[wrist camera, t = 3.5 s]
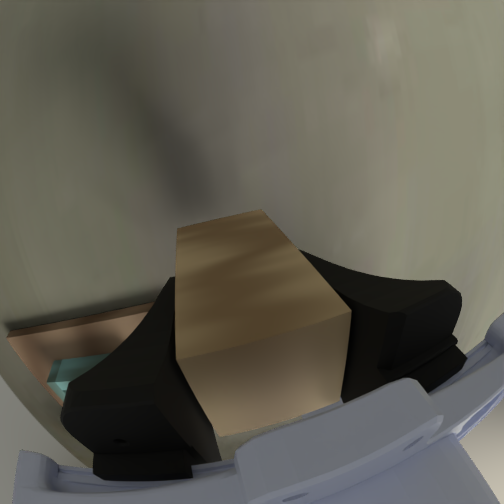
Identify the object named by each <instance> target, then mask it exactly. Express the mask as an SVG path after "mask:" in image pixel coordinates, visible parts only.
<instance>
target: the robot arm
mask: <svg viewBox="0 0 504 504" xmlns="http://www.w3.org/2000/svg"><path fill="white" fill-rule="evenodd" d="M298 250H299V249H298ZM299 251H300V252H301V253H302V254H303V255H304V257H305V258H306V259H307V260H308V261H309V262H310V263H311V264H312V266H313V267H314V268H315V269H316V270H317V271H318V272H319V274H320V275H321V276H322V277H323V278H324V279H325V280H326V282H327V283H328V284H329V285H330V286H331V287H332V288H333V290H334V291H335V292H336V293H337V294H338V295H339V297H340V298H341V299H342V300H343V301H344V302H345V304H346V305H347V306H348V307H349V308H350V309H351V311H352V312H351V323H350V332H349V341H348V349H347V357H346V364H345V371H344V377H343V383H342V389H341V395H340V401H338V402H336V403H333V404H331V405H328V406H326V407H323V408H320V409H318V410H315V411H312V412H309V413H306V414H304V415H301V416H302V418H303V419H302V420H299V421H296V422H293V423H289V424H286V425H283V426H280V427H277V428H274V429H272V430H269V431H267V432H264V433H262V434H259V435H256V436H254V437H252V438H251V439H250V440H248V441H247V442H245V443H244V444H243V445H241V446H240V447H239V448H238V449H237V450H236V451H235V456H234V459H229V460H224V461H222V459H221V456H220V453H219V449H218V446H217V442H216V438H215V434H214V430H213V427H212V424H211V422H210V420H209V419H208V417H207V415H206V414H205V412H204V410H203V409H202V407H201V405H200V403H199V402H198V400H197V398H196V396H195V395H194V393H193V391H192V389H191V387H190V385H189V384H188V382H187V380H186V378H185V376H184V374H183V372H182V370H181V368H180V366H179V364H178V362H177V360H176V340H175V277H170V278H169V280H168V281H167V283H166V284H165V286H164V288H163V289H162V291H161V293H160V294H159V296H158V298H157V299H156V301H155V303H154V304H153V306H152V307H151V309H150V310H149V311H148V313H147V314H146V316H145V317H144V318H143V320H142V321H141V322H140V324H139V325H138V326H137V327H136V328H135V330H134V331H133V332H132V333H131V334H130V335H129V336H128V337H127V338H126V339H125V340H124V341H123V342H122V343H121V344H120V345H119V346H118V347H117V348H116V349H115V350H114V351H113V352H112V353H111V354H109V355H108V356H107V357H106V358H105V359H103V360H102V361H101V362H99V363H98V364H97V365H95V366H94V367H93V368H91V369H90V370H88V371H87V372H85V373H84V374H82V375H80V376H79V377H77V378H76V379H74V380H72V381H71V382H69V383H68V387H67V390H66V394H65V398H64V402H63V407H62V411H61V422H62V424H63V426H64V427H65V429H66V430H67V431H68V432H69V433H70V434H71V435H72V436H73V437H74V438H75V439H77V440H78V441H79V442H80V443H82V444H83V445H84V446H85V447H87V448H88V449H89V450H90V451H92V452H93V453H94V457H93V468H82V467H72V466H64V465H58V464H57V463H56V462H55V461H53V460H52V459H51V458H49V457H47V456H45V455H43V454H40V453H36V452H31V451H25V450H20V451H19V457H18V462H17V468H16V475H15V482H14V491H13V502H12V503H13V504H500V503H499V501H498V499H497V498H496V496H495V495H494V493H493V491H492V490H491V488H490V487H489V485H488V484H487V482H486V480H485V479H484V478H483V476H482V474H481V473H480V471H479V470H478V468H477V467H476V465H475V464H474V462H473V461H472V460H471V458H470V457H469V455H468V454H467V452H466V451H465V450H464V448H463V447H462V445H461V444H460V443H459V441H460V440H461V439H462V438H463V437H464V436H465V435H467V434H468V433H469V432H470V431H471V430H472V429H473V428H474V427H475V426H477V425H478V424H479V423H480V422H481V421H482V420H483V419H484V418H485V417H486V416H487V415H488V414H489V413H490V412H491V411H492V410H493V408H495V406H496V405H497V404H498V403H499V402H500V401H501V400H502V399H503V398H504V313H503V314H501V315H500V316H499V317H498V318H497V319H496V320H495V321H494V322H493V323H492V324H491V326H490V327H489V329H488V331H487V333H486V335H485V339H484V340H483V341H481V342H480V343H479V344H478V345H477V346H475V347H474V348H473V349H472V350H470V351H469V352H468V353H466V354H465V355H464V354H463V353H462V352H461V350H460V349H459V348H458V347H457V346H456V344H457V342H458V340H457V338H456V337H455V336H454V335H453V334H452V333H453V330H454V328H455V325H456V323H457V320H458V317H459V315H460V311H461V307H462V297H461V293H460V292H459V291H457V290H456V289H455V288H454V287H453V286H451V285H450V284H449V283H448V282H446V281H445V280H426V281H417V280H401V279H392V278H386V277H379V276H374V275H369V274H365V273H361V272H357V271H354V270H351V269H347V268H345V267H342V266H339V265H336V264H333V263H331V262H328V261H326V260H323V259H321V258H318V257H316V256H314V255H311V254H309V253H307V252H304V251H302V250H299Z"/></svg>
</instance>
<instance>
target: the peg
mask: <svg viewBox="0 0 504 504" xmlns="http://www.w3.org/2000/svg"><path fill="white" fill-rule="evenodd" d="M351 312H352V311H351V309H350V308H349V307H348V306H347V305H346V304H345V302H344V301H343V300H342V299H341V298H340V297H339V295H338V294H337V293H336V292H335V291H334V290H333V288H332V287H331V286H330V285H329V284H328V283H327V282H326V280H325V279H324V278H323V277H322V276H321V275H320V274H319V272H318V271H317V270H316V269H315V268H314V267H313V266H312V264H311V263H310V262H309V261H308V260H307V259H306V258H305V257H304V255H303V254H302V253H301V252H300V251H299V250H298V249H297V248H296V247H295V245H294V244H293V243H292V242H291V241H290V240H289V239H288V238H287V237H286V236H285V234H284V233H283V232H282V231H281V230H280V229H279V228H278V227H277V226H276V225H275V224H274V222H273V221H272V220H271V219H270V218H269V217H268V216H267V215H266V214H265V213H264V212H263V211H262V210H261V209H260V210H255V211H251V212H246V213H242V214H237V215H233V216H228V217H224V218H219V219H215V220H211V221H207V222H202V223H198V224H194V225H190V226H186V227H182V228H177V243H176V271H175V340H176V360H177V362H178V364H179V366H180V368H181V370H182V372H183V374H184V376H185V378H186V380H187V382H188V384H189V385H190V387H191V389H192V391H193V393H194V395H195V396H196V398H197V400H198V402H199V403H200V405H201V407H202V409H203V410H204V412H205V414H206V415H207V417H208V419H209V420H210V422H211V424H212V425H213V427H214V429H215V430H216V432H217V433H218V435H219V437H222V436H227V435H232V434H236V433H241V432H245V431H249V430H253V429H257V428H261V427H264V426H268V425H272V424H275V423H279V422H282V421H285V420H288V419H291V418H295V417H298V416H301V415H304V414H306V413H309V412H312V411H315V410H318V409H320V408H323V407H326V406H328V405H331V404H333V403H336V402H338V401H340V395H341V389H342V383H343V377H344V371H345V364H346V357H347V349H348V341H349V332H350V323H351Z"/></svg>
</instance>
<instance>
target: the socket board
mask: <svg viewBox="0 0 504 504" xmlns="http://www.w3.org/2000/svg"><path fill="white" fill-rule="evenodd" d="M154 303H155V302H151V303H147V304H142V305H138V306H133V307H128V308H124V309H119V310H114V311H110V312H105V313H100V314H95V315H91V316H86V317H81V318H76V319H71V320H66V321H61V322H56V323H50V324H45V325H40V326H34V327H29V328H23V329H18V330H12V331H10V332H9V334H8V336H7V338H6V339H7V340H8V341H9V343H10V344H11V346H12V347H13V349H14V350H15V351H16V353H17V354H18V356H19V357H20V358H21V360H22V361H23V362H24V364H25V365H26V366H27V367H28V369H29V370H30V371H31V372H32V374H33V375H34V376H35V377H36V378H37V380H38V381H39V382H40V383H41V384H42V386H43V387H44V388H45V389H46V390H47V391H48V392H49V393H50V394H51V396H52V397H53V398H54V399H55V400H56V401H57V402H58V403H59V404H60V405H61V406H62V407H63V402H64V398H65V394H66V390H67V387H68V383H69V382H71V381H72V380H74V379H76V378H77V377H79V376H80V375H82V374H84V373H85V372H87V371H88V370H90V369H91V368H93V367H94V366H95V365H97V364H98V363H99V362H101V361H102V360H103V359H105V358H106V357H107V356H108V355H109V354H111V353H112V352H113V351H114V350H115V349H116V348H117V347H118V346H119V345H120V344H121V343H122V342H123V341H124V340H125V339H126V338H127V337H128V336H129V335H130V334H131V333H132V332H133V331H134V330H135V328H136V327H137V326H138V325H139V324H140V322H141V321H142V320H143V318H144V317H145V316H146V314H147V313H148V311H149V310H150V309H151V307H152V306H153V304H154Z"/></svg>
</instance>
